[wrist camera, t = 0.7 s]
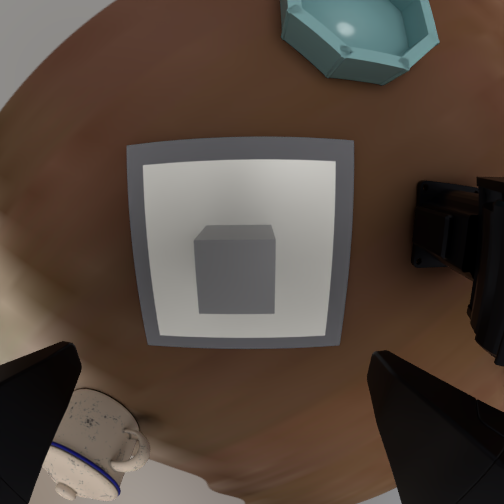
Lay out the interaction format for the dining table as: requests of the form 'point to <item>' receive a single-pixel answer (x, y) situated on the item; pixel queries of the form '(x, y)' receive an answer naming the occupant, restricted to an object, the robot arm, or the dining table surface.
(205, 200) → the lid
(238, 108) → the dining table surface
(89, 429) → the teacup with lid
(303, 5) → the bowl
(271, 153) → the mat
